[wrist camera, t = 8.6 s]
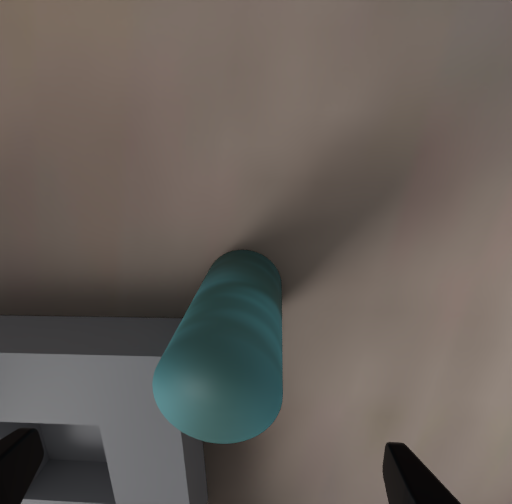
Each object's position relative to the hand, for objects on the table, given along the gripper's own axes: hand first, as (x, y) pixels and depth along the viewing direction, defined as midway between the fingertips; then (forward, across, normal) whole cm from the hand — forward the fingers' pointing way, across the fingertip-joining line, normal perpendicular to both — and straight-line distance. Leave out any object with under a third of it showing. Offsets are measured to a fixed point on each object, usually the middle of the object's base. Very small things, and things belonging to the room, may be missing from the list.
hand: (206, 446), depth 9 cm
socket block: (+10, +10, +9) cm, 17 cm away
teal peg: (+10, 0, 0) cm, 10 cm away
